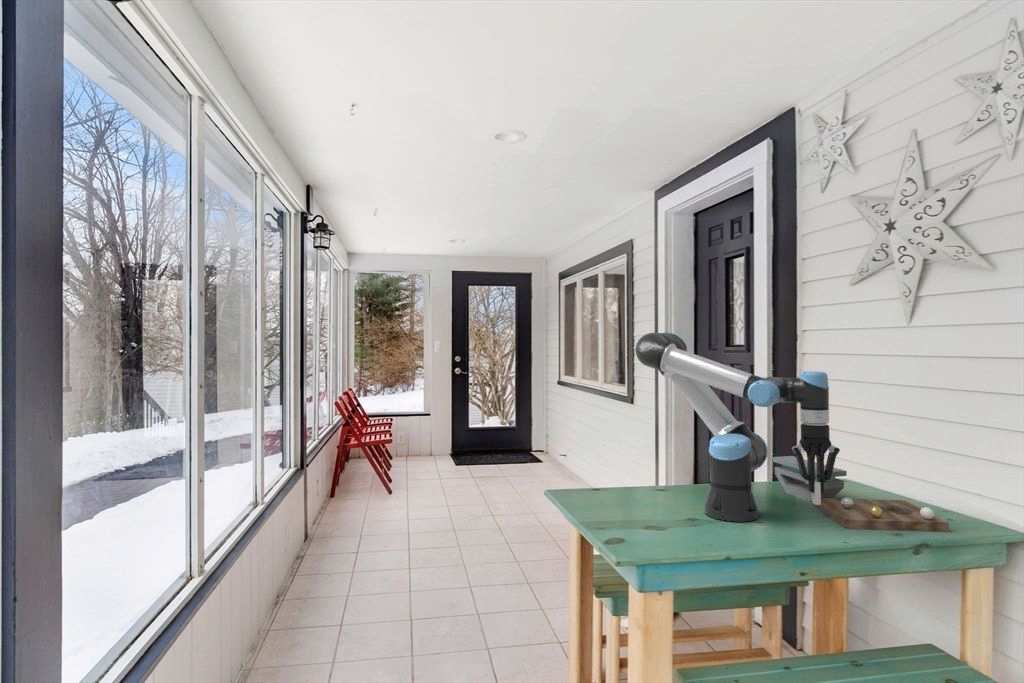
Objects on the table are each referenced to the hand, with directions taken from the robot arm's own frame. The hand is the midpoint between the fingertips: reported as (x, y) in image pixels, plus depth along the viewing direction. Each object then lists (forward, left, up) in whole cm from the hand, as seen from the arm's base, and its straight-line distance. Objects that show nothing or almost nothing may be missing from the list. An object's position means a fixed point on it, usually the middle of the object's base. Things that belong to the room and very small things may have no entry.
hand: (816, 503), depth 170 cm
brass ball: (+12, -8, 0) cm, 15 cm away
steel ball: (+8, 0, 0) cm, 9 cm away
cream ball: (+25, -8, 0) cm, 27 cm away
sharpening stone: (+5, +23, -4) cm, 24 cm away
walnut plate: (+16, 0, -4) cm, 17 cm away
